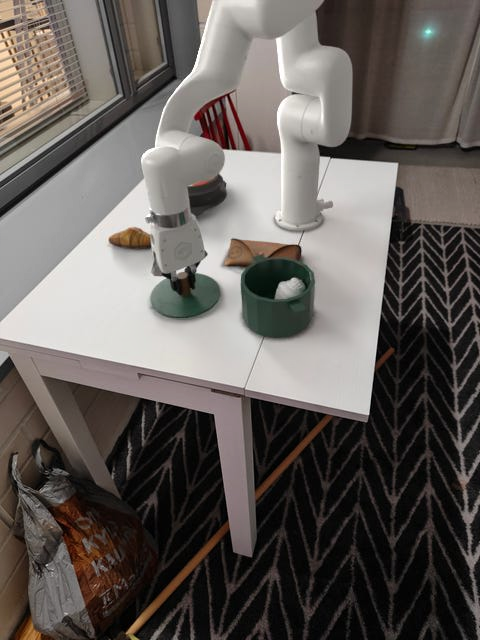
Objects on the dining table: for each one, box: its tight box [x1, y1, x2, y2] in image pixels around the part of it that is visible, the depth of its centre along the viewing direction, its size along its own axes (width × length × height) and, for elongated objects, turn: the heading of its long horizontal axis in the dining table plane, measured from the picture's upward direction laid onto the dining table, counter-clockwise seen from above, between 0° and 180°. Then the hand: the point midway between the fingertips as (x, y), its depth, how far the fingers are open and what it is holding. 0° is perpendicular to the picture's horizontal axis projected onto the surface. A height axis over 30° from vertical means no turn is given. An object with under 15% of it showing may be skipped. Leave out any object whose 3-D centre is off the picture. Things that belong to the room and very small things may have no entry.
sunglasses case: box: [223, 237, 303, 268], centre depth 111 cm, size 18×7×7 cm
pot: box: [240, 254, 316, 339], centre depth 94 cm, size 15×20×10 cm
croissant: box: [108, 226, 152, 250], centre depth 119 cm, size 14×7×5 cm, turn 78°
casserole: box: [187, 173, 228, 217], centre depth 134 cm, size 25×19×8 cm
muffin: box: [275, 278, 305, 299], centre depth 95 cm, size 6×6×7 cm
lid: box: [149, 271, 221, 320], centre depth 101 cm, size 16×16×6 cm
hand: (184, 288), depth 102 cm, fingers closed on lid, 2 cm apart
